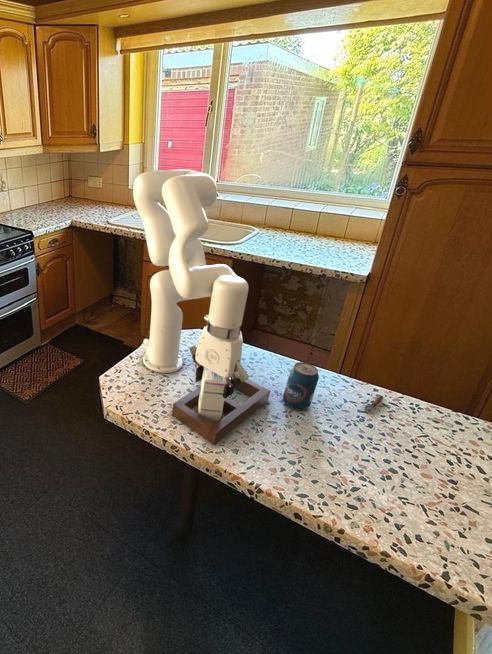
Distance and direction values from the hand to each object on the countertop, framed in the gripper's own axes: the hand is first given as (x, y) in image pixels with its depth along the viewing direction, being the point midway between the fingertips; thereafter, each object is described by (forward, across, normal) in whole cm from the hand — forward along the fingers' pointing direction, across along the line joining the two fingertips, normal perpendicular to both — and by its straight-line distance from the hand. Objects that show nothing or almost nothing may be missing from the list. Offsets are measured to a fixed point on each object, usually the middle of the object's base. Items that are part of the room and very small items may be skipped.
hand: (213, 387), depth 101 cm
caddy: (+10, 0, +6) cm, 12 cm away
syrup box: (+11, 0, 0) cm, 11 cm away
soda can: (+11, +12, +24) cm, 29 cm away
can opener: (+10, +26, +40) cm, 49 cm away
